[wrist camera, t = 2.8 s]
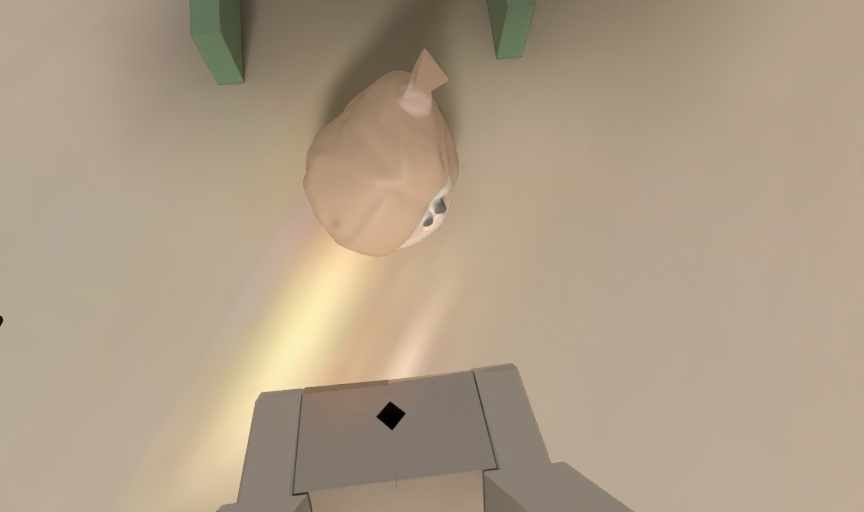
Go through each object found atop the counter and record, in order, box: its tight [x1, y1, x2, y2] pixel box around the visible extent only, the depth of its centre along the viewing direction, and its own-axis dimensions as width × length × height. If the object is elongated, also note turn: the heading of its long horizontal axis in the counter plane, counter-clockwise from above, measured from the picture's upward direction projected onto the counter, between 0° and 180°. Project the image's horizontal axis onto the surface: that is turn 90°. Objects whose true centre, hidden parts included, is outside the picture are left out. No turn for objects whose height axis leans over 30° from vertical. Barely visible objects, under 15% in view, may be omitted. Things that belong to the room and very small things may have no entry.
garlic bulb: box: [303, 47, 459, 257], centre depth 26 cm, size 7×6×8 cm
